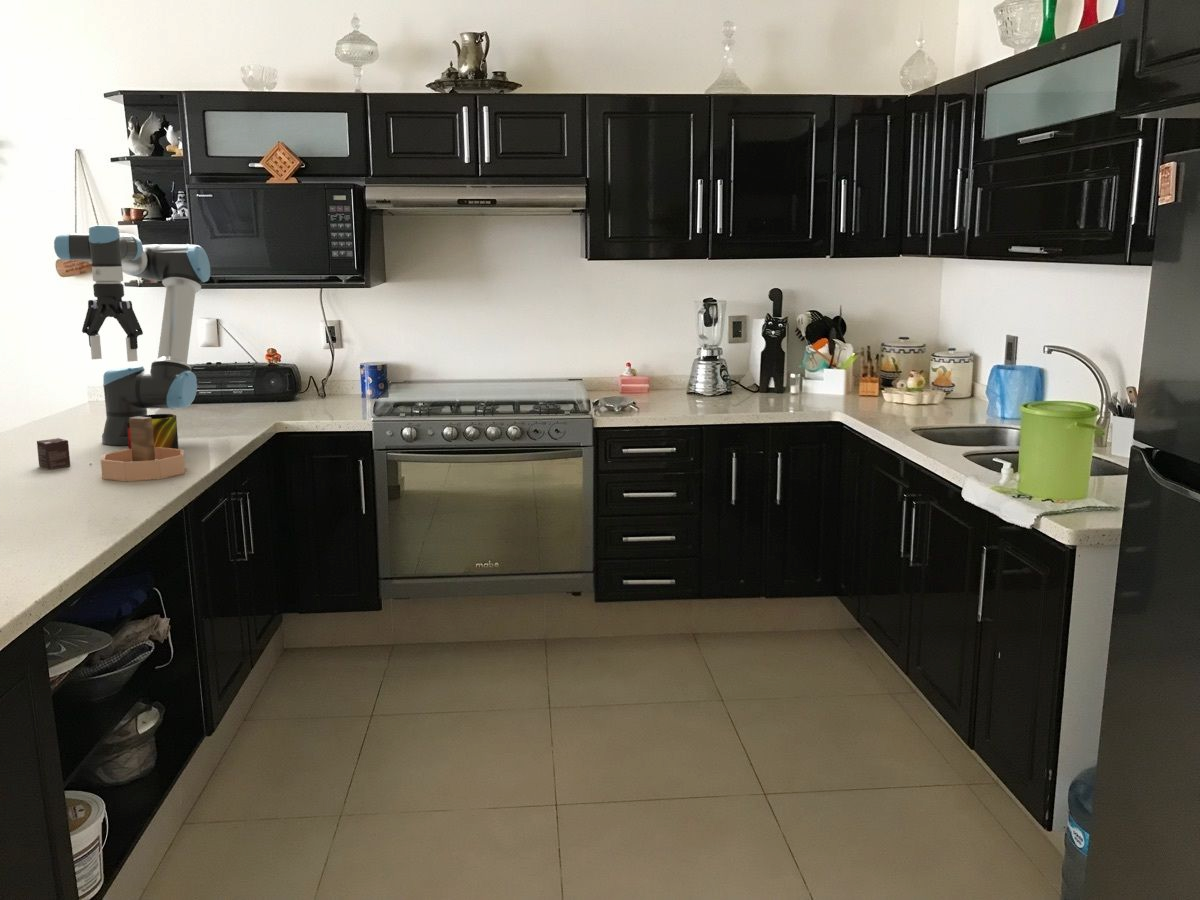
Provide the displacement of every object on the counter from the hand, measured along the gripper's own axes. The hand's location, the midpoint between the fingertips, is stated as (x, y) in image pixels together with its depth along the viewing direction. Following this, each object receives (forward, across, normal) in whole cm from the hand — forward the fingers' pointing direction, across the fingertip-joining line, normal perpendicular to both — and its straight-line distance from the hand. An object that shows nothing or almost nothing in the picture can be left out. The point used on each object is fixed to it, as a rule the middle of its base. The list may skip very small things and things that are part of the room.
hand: (114, 360), depth 283 cm
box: (+29, -11, -13) cm, 34 cm away
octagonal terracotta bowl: (+29, +18, -9) cm, 35 cm away
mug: (+29, +3, +8) cm, 30 cm away
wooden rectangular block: (+28, +18, -9) cm, 34 cm away
